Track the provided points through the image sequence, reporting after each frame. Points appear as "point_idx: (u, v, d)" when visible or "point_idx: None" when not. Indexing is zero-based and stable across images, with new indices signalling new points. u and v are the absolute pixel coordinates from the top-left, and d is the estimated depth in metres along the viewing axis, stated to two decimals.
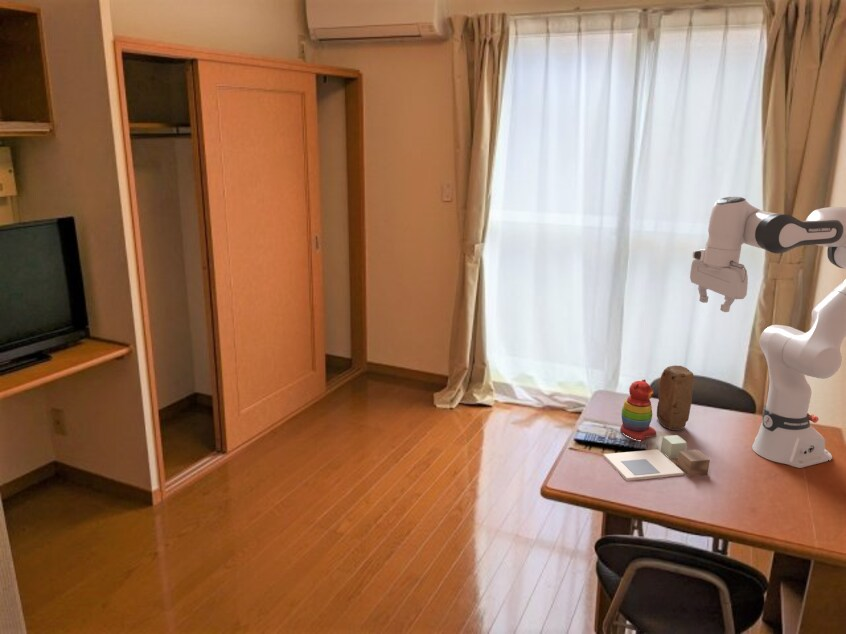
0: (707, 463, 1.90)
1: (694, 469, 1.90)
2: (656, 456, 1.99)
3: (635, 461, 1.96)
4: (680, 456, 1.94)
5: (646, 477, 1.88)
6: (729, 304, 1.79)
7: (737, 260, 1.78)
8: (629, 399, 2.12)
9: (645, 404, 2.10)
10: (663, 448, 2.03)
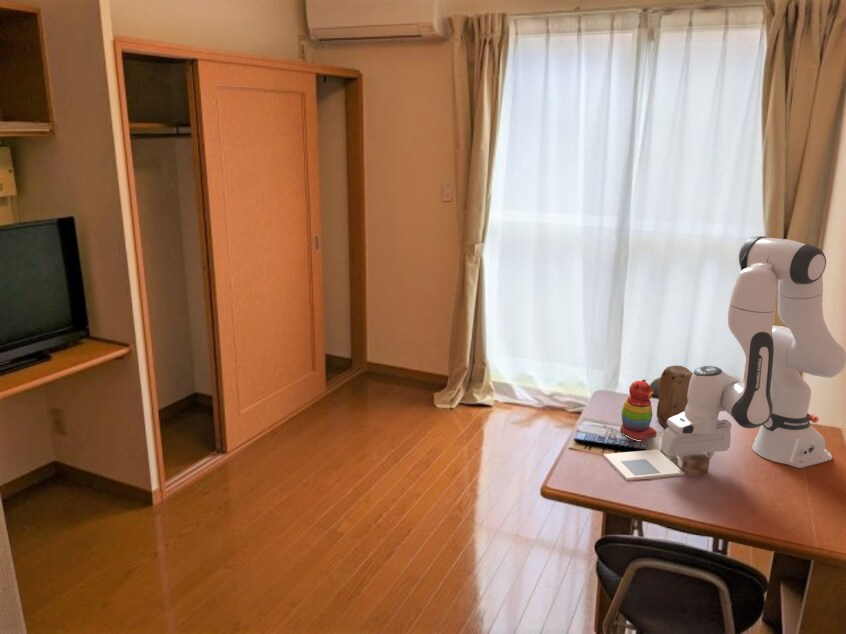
0: (707, 462, 1.90)
1: (694, 469, 1.90)
2: (656, 456, 1.99)
3: (635, 461, 1.96)
4: None
5: (646, 477, 1.88)
6: None
7: None
8: (629, 399, 2.12)
9: (645, 404, 2.09)
10: None
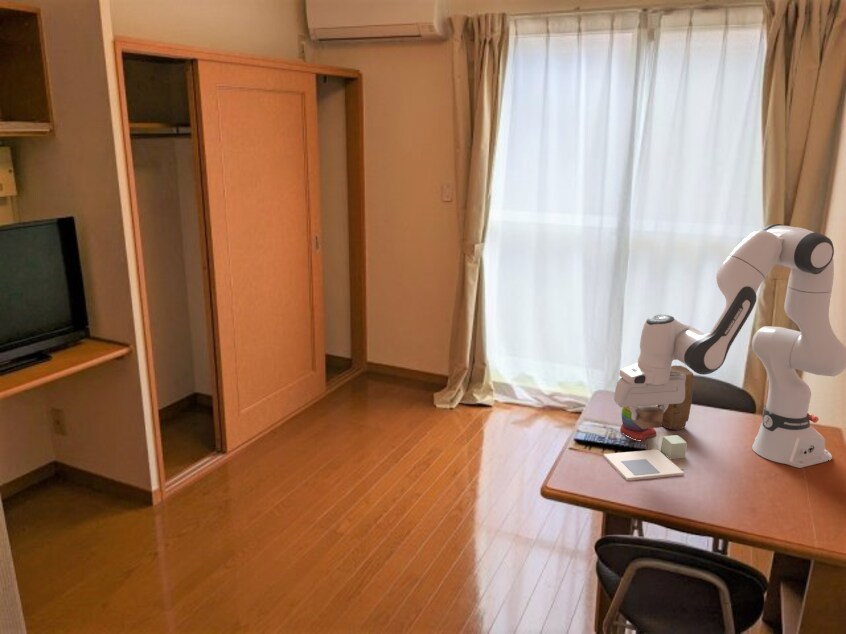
0: (661, 415, 1.85)
1: (647, 421, 1.85)
2: (656, 456, 1.99)
3: (635, 461, 1.96)
4: None
5: (646, 477, 1.88)
6: None
7: None
8: None
9: None
10: (663, 448, 2.03)
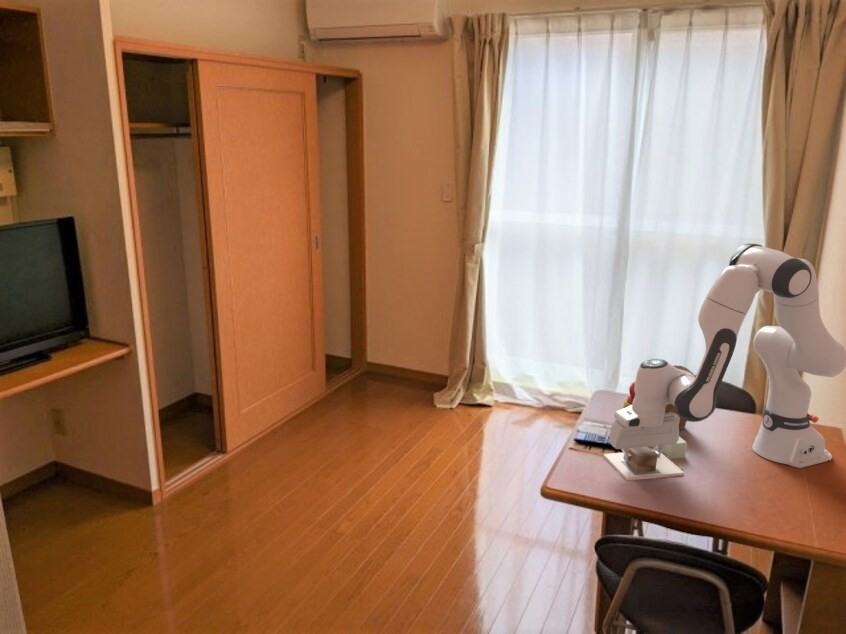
0: (655, 459, 1.89)
1: (641, 465, 1.89)
2: None
3: None
4: (628, 452, 1.93)
5: (646, 477, 1.88)
6: None
7: None
8: (629, 399, 2.12)
9: None
10: None
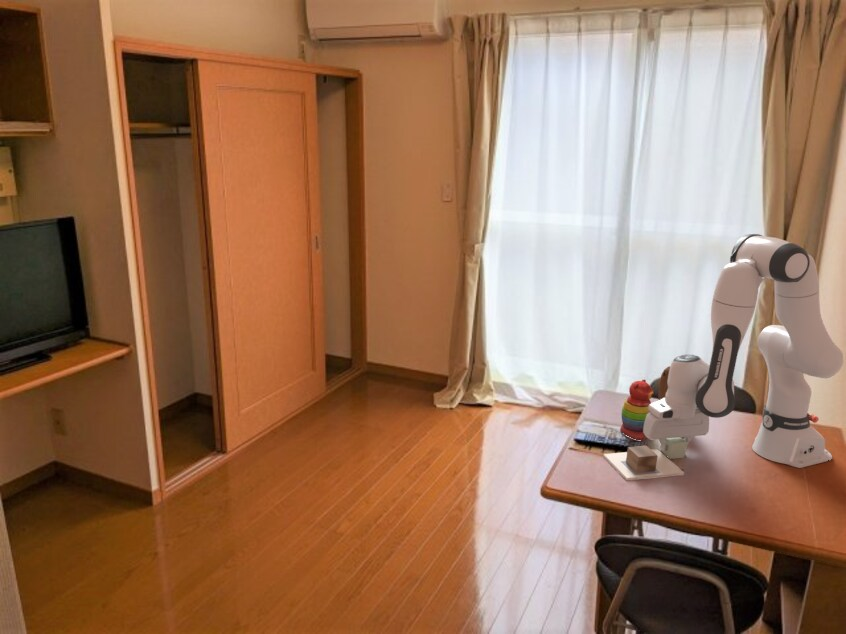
0: (655, 459, 1.89)
1: (641, 465, 1.89)
2: None
3: None
4: (628, 452, 1.93)
5: (646, 477, 1.88)
6: None
7: None
8: (629, 399, 2.12)
9: (645, 404, 2.09)
10: None
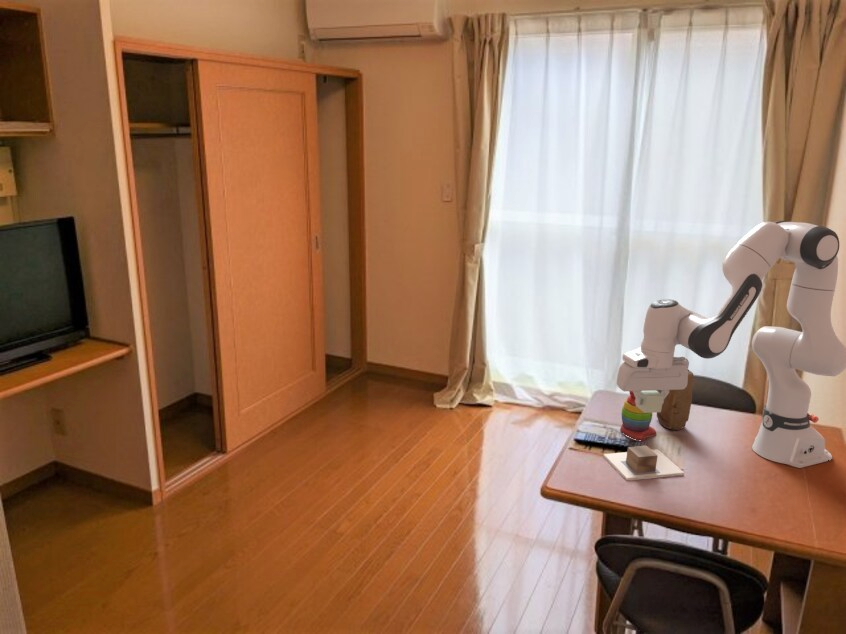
0: (655, 459, 1.89)
1: (641, 465, 1.89)
2: None
3: None
4: (628, 452, 1.93)
5: (646, 477, 1.88)
6: None
7: None
8: (629, 399, 2.12)
9: None
10: None
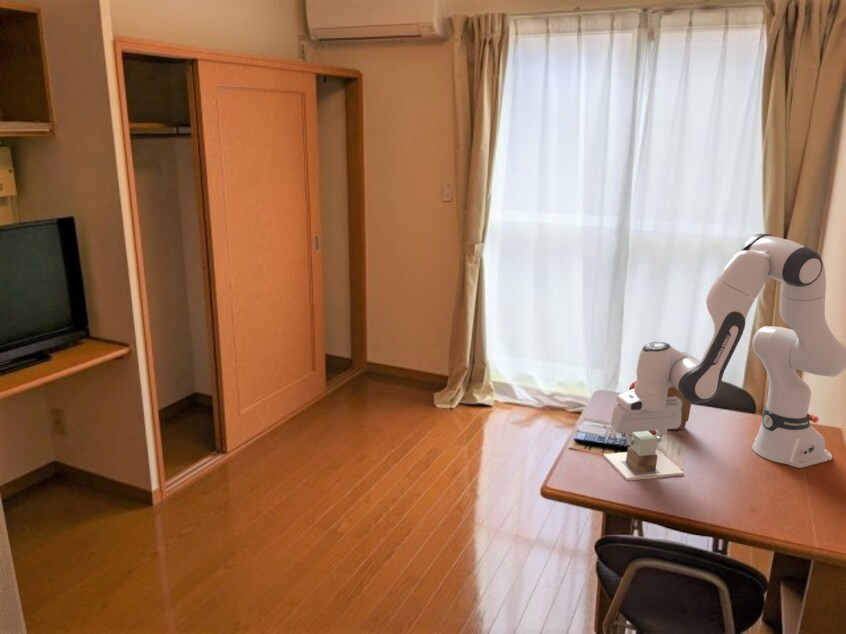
0: (655, 459, 1.89)
1: (641, 465, 1.89)
2: None
3: None
4: (628, 452, 1.93)
5: (646, 477, 1.88)
6: None
7: None
8: None
9: None
10: (632, 445, 1.91)
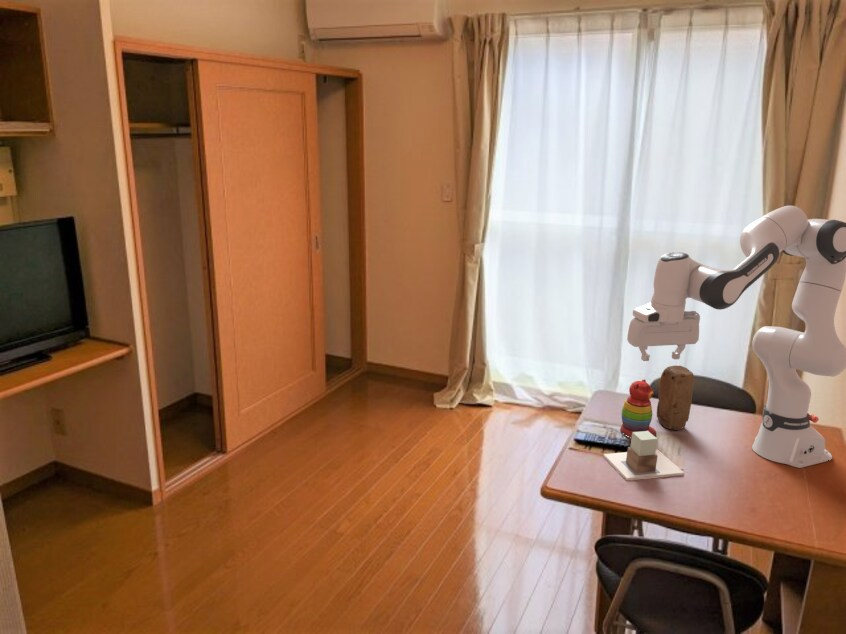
0: (655, 459, 1.89)
1: (641, 465, 1.89)
2: None
3: None
4: (628, 452, 1.93)
5: (646, 477, 1.88)
6: None
7: None
8: (629, 399, 2.12)
9: (645, 404, 2.09)
10: (632, 445, 1.91)
